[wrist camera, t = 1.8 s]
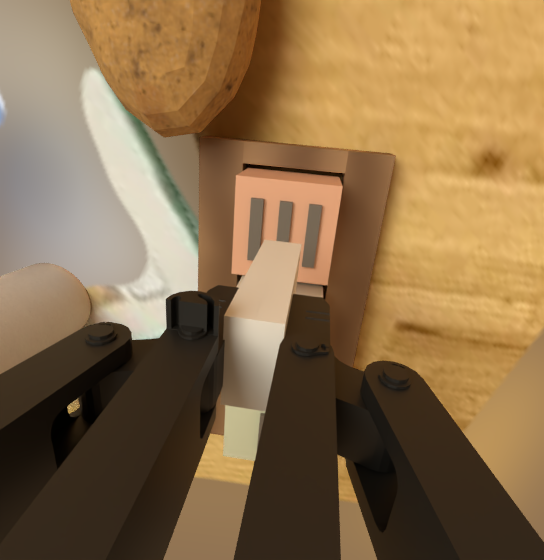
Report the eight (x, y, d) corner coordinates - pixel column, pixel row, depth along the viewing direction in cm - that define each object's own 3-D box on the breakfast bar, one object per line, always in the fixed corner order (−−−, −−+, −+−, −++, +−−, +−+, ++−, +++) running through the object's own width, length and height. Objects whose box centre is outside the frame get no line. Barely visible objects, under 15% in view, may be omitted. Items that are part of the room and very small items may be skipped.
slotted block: (234, 418, 32) (222, 459, 28) (237, 361, 30) (224, 397, 26) (301, 428, 32) (298, 471, 28) (309, 372, 30) (308, 410, 26)
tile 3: (243, 252, 26) (230, 275, 22) (248, 167, 24) (234, 176, 20) (326, 262, 26) (327, 287, 22) (339, 176, 24) (343, 187, 20)
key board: (203, 414, 34) (196, 431, 33) (208, 135, 25) (199, 136, 23) (334, 435, 34) (335, 452, 32) (389, 153, 24) (395, 155, 22)
